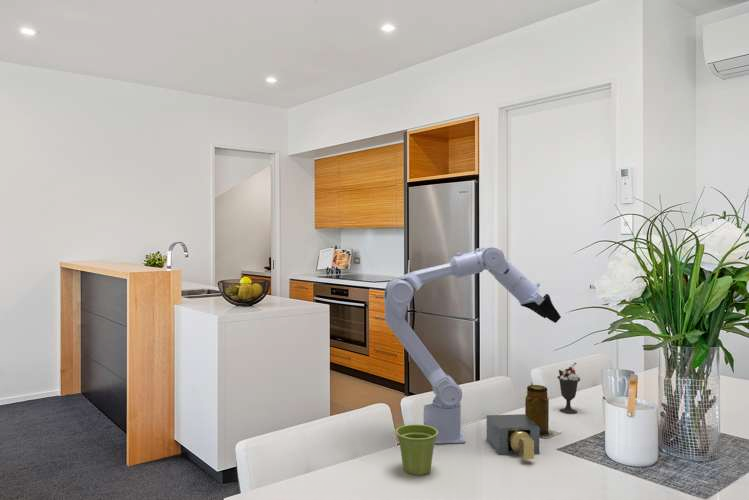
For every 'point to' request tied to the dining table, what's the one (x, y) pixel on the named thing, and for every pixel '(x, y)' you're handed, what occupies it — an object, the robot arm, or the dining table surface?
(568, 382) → the sundae
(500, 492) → the dining table surface
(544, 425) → the condiment
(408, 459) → the plant pot
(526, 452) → the gold stepped cylinder
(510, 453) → the housing
